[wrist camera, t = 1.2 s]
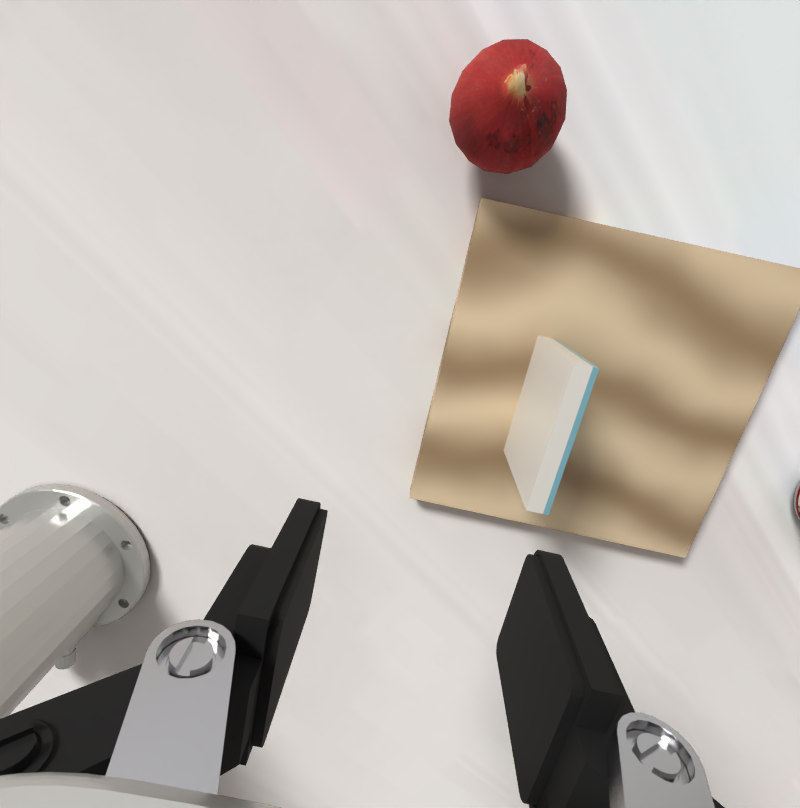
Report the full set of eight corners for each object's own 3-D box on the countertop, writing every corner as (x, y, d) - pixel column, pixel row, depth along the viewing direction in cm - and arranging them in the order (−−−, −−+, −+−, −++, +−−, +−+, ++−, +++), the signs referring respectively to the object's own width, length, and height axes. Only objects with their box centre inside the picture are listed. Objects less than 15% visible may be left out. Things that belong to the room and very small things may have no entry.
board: (675, 545, 36) (685, 557, 34) (410, 488, 36) (409, 498, 34) (797, 271, 30) (816, 272, 28) (480, 200, 30) (482, 197, 28)
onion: (568, 131, 28) (619, 87, 21) (490, 203, 30) (511, 187, 22) (505, 46, 27) (534, -34, 20) (427, 125, 29) (427, 79, 21)
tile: (520, 454, 33) (548, 515, 25) (503, 450, 33) (525, 510, 25) (556, 339, 30) (599, 368, 23) (538, 335, 30) (574, 362, 23)
